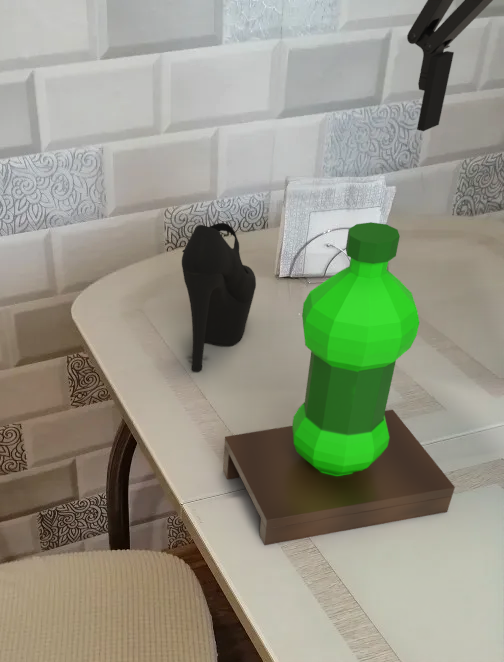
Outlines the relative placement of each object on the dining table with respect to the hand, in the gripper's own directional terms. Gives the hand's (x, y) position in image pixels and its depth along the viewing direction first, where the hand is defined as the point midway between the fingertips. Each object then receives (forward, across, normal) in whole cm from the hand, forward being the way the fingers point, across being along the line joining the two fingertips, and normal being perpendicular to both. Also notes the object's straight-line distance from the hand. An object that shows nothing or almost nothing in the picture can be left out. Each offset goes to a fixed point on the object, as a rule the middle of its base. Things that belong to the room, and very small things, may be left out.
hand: (490, 142), depth 75 cm
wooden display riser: (+33, +1, -19) cm, 38 cm away
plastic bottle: (+28, +1, -19) cm, 34 cm away
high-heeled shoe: (+33, -30, -4) cm, 45 cm away
